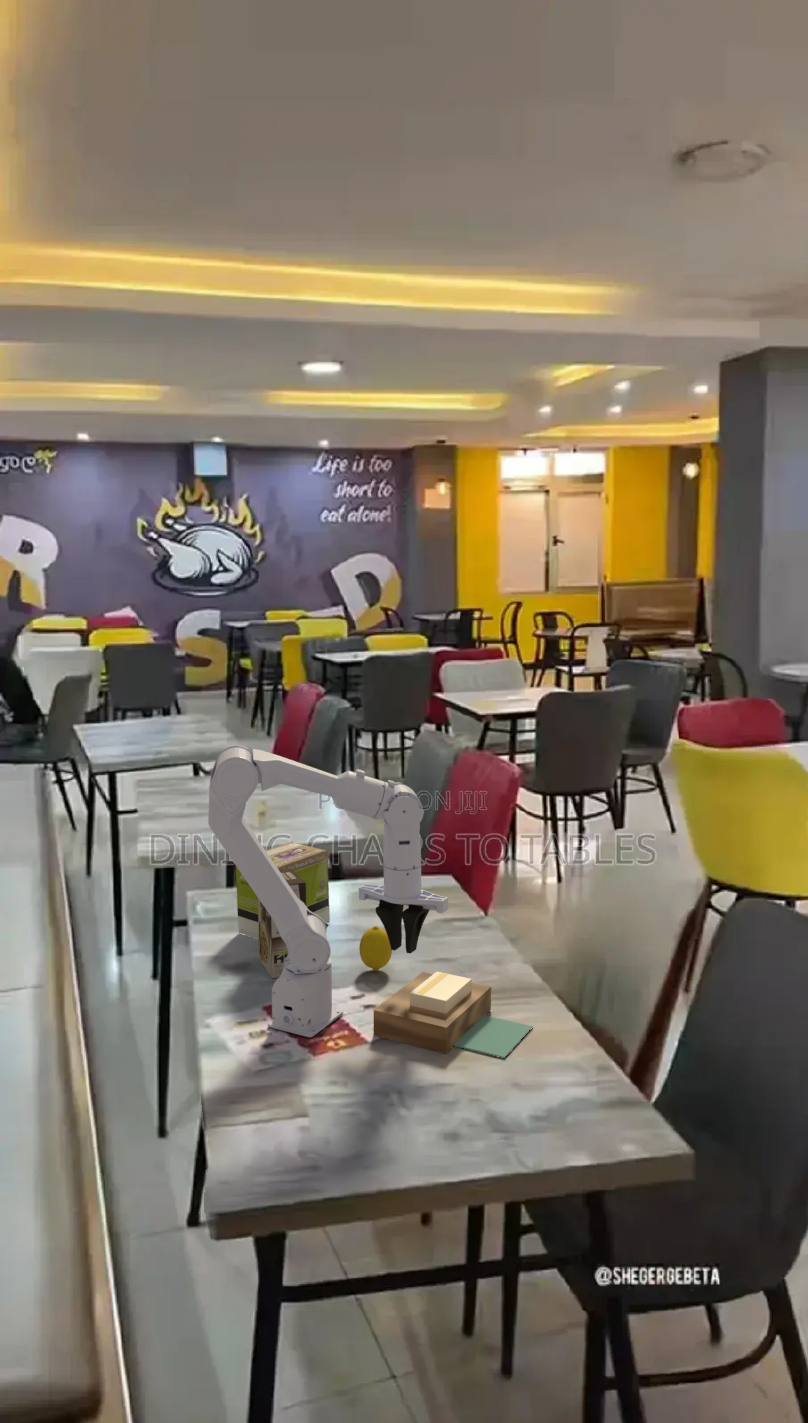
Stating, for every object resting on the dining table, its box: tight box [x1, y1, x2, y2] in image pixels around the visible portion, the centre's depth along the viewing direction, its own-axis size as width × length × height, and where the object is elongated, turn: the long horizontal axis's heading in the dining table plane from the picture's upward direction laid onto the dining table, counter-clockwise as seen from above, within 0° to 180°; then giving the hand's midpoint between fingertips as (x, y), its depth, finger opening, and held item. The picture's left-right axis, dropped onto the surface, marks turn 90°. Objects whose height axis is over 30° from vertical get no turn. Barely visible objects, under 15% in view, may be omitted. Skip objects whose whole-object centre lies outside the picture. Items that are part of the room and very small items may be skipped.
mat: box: [454, 1015, 534, 1059], centre depth 160 cm, size 11×8×1 cm
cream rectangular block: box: [410, 971, 473, 1014], centre depth 164 cm, size 9×6×2 cm, turn 152°
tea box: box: [235, 841, 331, 941], centre depth 202 cm, size 15×10×15 cm, turn 141°
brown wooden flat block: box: [373, 971, 492, 1054], centre depth 164 cm, size 16×12×4 cm
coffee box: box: [258, 868, 306, 979], centre depth 184 cm, size 9×6×16 cm
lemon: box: [358, 925, 393, 972], centre depth 183 cm, size 6×6×8 cm
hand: (403, 949), depth 166 cm, fingers open, 2 cm apart
